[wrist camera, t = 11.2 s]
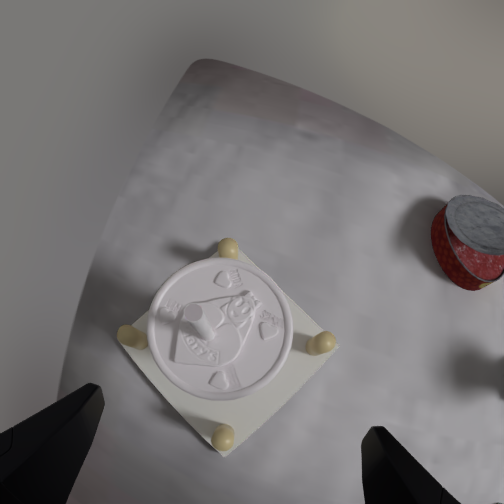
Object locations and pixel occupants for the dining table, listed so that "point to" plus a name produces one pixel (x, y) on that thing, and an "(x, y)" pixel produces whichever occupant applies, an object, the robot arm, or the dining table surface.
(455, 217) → the canned food
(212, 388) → the smoothie
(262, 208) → the dining table surface
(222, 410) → the pin plate
